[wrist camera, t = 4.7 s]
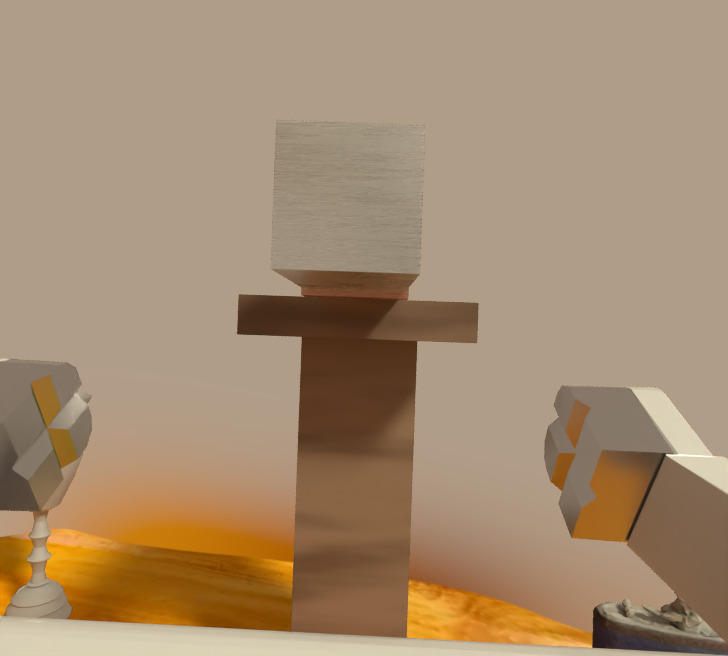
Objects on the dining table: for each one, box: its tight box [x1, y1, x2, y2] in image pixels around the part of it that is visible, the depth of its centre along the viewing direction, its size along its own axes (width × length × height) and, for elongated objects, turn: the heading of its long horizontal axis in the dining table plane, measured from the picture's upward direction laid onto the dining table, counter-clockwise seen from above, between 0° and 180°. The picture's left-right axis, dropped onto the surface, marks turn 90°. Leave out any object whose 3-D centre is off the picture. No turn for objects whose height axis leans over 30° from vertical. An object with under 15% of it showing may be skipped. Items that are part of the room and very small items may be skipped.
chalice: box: [4, 392, 91, 619], centre depth 42 cm, size 7×7×18 cm
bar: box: [271, 120, 425, 300], centre depth 30 cm, size 32×4×4 cm, turn 179°
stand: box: [237, 295, 478, 638], centre depth 33 cm, size 14×12×26 cm
